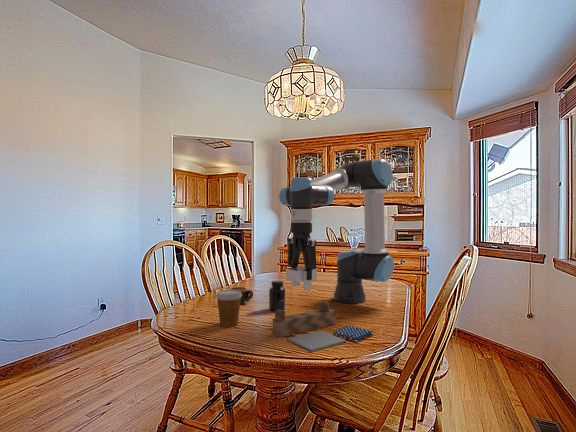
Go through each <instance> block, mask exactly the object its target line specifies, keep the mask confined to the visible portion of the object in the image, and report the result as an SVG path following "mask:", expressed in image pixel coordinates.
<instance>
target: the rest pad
mask: <svg viewBox="0 0 576 432" xmlns="http://www.w3.org/2000/svg"><path fill="white" fill-rule="evenodd" d="M287 341H289V342H290V343H293V344H295V345H297V346H299V347H301V348H302V349H304V350H307V351H309V352H312V353H314V352H316V351H320V350H323V349H327V348H330V347H334V346H336V345H338V346H339V345H340V344H344V342H345V343H346V342H347V339H344V338H341V337H337V336H334V334H332V333H329V332H327V331H324V330H321V329H320V330H317V331H312V332H309V333H304V334H301V335H297V336H293V337H289V338H287Z"/></svg>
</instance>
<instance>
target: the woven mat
mask: <svg viewBox="0 0 576 432" xmlns="http://www.w3.org/2000/svg"><path fill="white" fill-rule="evenodd" d="M373 332H374V330H370V329H365V328H361V327H358V326H354V325H350V324H349V325H345V326H343V327H341V328H338V329H335V330H333V331H332V333H331V334H332V335H335V336H338V337H339V338H342V339H344V340H347V339H349V341H350V340H351V341H352V342H355V343H359V342H361V341H363V340H364V339H365V340H366V339H367V338H369V337H371V336H373V335H374V333H373ZM343 337H344V338H343ZM355 340H356V341H355Z"/></svg>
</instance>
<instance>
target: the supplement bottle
mask: <svg viewBox="0 0 576 432" xmlns="http://www.w3.org/2000/svg"><path fill="white" fill-rule="evenodd" d="M268 292H269V295H268V297H269V299H268V308H269V310H270V311H272V312H275V310H279V309H280V310H283V311H285V310H286V288H285V287H284V281H282V280H271V287H270V288H269V290H268Z"/></svg>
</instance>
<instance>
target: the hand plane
mask: <svg viewBox="0 0 576 432" xmlns="http://www.w3.org/2000/svg"><path fill="white" fill-rule="evenodd" d="M319 305H320V309H316V310H311V311H306V312H301V313H295V314H289V315H286V311H285V310H280V309H279V310H275V311H274V318H272V335H274V336H276V337H278V338H283V337H287V336H291V335H294V334H295V335H296V334H299V333H304V332H309V331H314V330H316V329H319V328H324V327H328V326H332V325H333V324H334V325H336V324H337V310H335V309H332V308H330V302H329V301H327V300H326V301H320V304H319ZM334 325H333V326H334Z"/></svg>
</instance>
